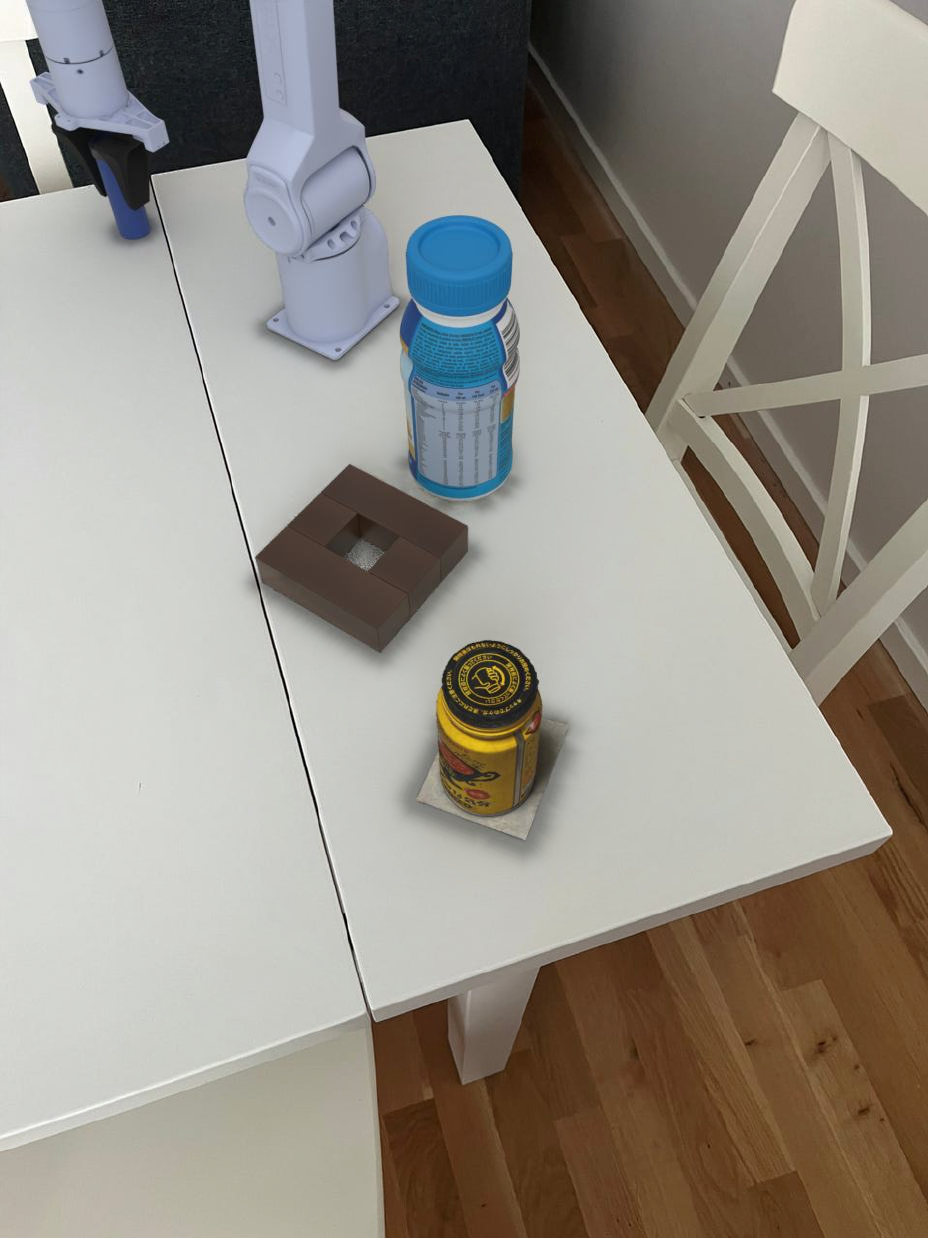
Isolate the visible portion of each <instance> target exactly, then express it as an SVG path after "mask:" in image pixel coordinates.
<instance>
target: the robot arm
mask: <svg viewBox="0 0 928 1238" xmlns="http://www.w3.org/2000/svg"><path fill="white" fill-rule="evenodd" d="M24 1H25V4H26V6H27V10H28V12H29V16H30V18H31V21H32V25H33V27H34V30H35V33H36V36H37V38H38V41H39V45H40V47H41V51H42V53H43V56H44V59H45V62H46V65H47V68H48V70H49V72H48V71H44V72H42V73H41V74H39V75H37V76H35V77H34V78H31V79H30V80H29V84H30V88H31V90H32V93H33V95H34V99H35V101H36V103H38V104H40V105H44V106H46V105H48V104H50V105H51V106H52V108H54V110H55V111H56V112H57V113H56V115H54V121H53V122H52V123H51V124H50V128H51V132H52V134H53V135H55V136H56V137H57V138H58V139H59V140H60V141H61V142H62V143H63V144H64V145H65V146H66V147H67V148H68V149H69V151H70V152H71V153H72V154H73V156H74V157H75V159H76V160H77V161H78V162H79V164H80V165H81V166H82V168H83V169H84V171H85V173H86V174H87V176H88V178H89V179H90V181H91V183H92V185H93V186H94V187H95V189H96V191H97V192H98V194H100V196H102V197H104V198H108V196H107V192H106V189H105V186H104V183H103V180H102V177H101V174H100V171H99V168H98V165H97V162H96V159H95V158H94V157H93V156H92V154H91V151H90V148H89V144H88V143H89V140H90V138H91V137H93V136H94V135H96V134H98V133H100V132H104V131H110V132H111V135H108V136H107V137H105V138H104V139H102V140H100V141H99V142H97V143H95V144H94V148H95V150H96V151H97V152H98V153H99V154H100V155H101V156H102V158H103V159H104V160H105V162H106V163H107V164H108V166H109V167H110V169H111V171H112V172H113V174H114V176H115V178H116V180H117V183H118V185H119V188H120V190H121V193H122V195H123V197H124V200H125V202H126V203H127V205H128V207H129V208H130V209H132V210H134V211H136V210H138V209H139V208H141V207H142V206H144V205H147V204H148V203H150V201H151V197H150V196H151V195H150V194H151V191H150V189H151V188H150V187H151V185H150V177H151V176H150V175H151V174H150V173H151V162H152V156H153V153H155V152H156V151H158V150H161V149H162V148H163V147H165V146H166V145H167V144H169V143H170V139H169V135H168V131H167V127H166V122H165V120H163V119H161V118H158V117H157V116H155V115H154V114H153V113H152V112H151V111H150V110H149V109H148V108H147V107H146V106H144V104H143V103H142V102H140V100H139V99H138V98H137V97H136V96H134V95H133V93H131V91H130V90H129V89H127V85H126V81H125V78H124V74H123V70H122V67H121V63H120V60H119V56H118V52H117V49H116V45H115V42H114V38H113V35H112V32H111V29H110V25H109V20H108V17H107V14H106V10H105V7H104V4H103V0H24ZM249 8H250V15H251V25H252V32H253V40H254V48H255V49H254V50H255V57H256V65H257V71H258V80H259V81H258V82H259V88H260V96H261V105H262V112H263V120H262V122H261V125H260V127H259V129H258V132H257V134H256V136H255V138H254V139H253V142H252V145H251V146H250V148H249V151H248V154H247V156H246V159H245V161H246V169H247V180H246V184H245V187H244V189H243V195H242V201H243V208H244V211H245V215H246V218H247V222H248V223H249V225H250V227H251V230H252V231H253V233H254V234H255V235H256V236H257V238H258V239H259V240H260V241H261V242H262V243H263V244H264V245H265V246H266V247H267V248H269V249H270V250H272V251H273V252H274V253H275V259H276V260H275V261H276V264H277V265H276V266H277V270H278V275H279V276H278V277H279V281H280V288H281V292H282V298H283V303H284V307H283V308H282V309H281V310H280V311H278V312H277V313H276V314H274V315H273V316H272V317H271V318H270V319H269V320H268V321H266V327H267V329H269V330H271V331H272V332H274V333H277V334H278V335H280V336H283V337H285V338H287V339H288V340H291V341H293V342H295V343H297V344H299V345H301V346H303V347H305V348H307V349H310V350H311V351H313V352H316V353H318V354H320V355H322V356H324V357H325V358H328V359H330V360H333V361H337V360H339V359H340V358H342V357H343V356H344V355H345V354H346V353H347V352H349V351H350V350H351V349H353V347H354V346H355V345H356V344H357V343H359V342H360V341H361V340H362V339H363V338H364V337H365V336H366V335H367V334H369V332H371V331H372V330H373V329H374V328H375V327H377V326H378V324H379V323H381V322H382V321H383V320H384V319H385V318H386V317H388V315H390V314H391V313H392V312H393V311H394V310H395V309H396V308H398V307H399V306H400V299H399V298H398V297H396V296H394V295H392V283H391V282H392V281H391V269H390V255H389V243H388V238H387V235H386V231H385V229H384V227H383V225H382V223H381V221H380V220H379V218H378V217H377V216H376V214H375V213H374V212H373V211H372V210H370V209H369V208H368V207H367V206H366V204H367V203H368V202H369V201H370V200H371V199H372V198H373V196H374V195H375V192H376V188H377V187H376V186H377V176H376V171H375V167H374V164H373V161H372V159H371V156H370V154H369V150H368V148H367V143H366V127H365V125H363V123H362V122H360V121H359V120H358V119H357V118H356V117H354V116H353V115H352V114H351V113H349V112H348V111H346V110H344V109H342V108H341V107H340V100H339V83H338V66H337V47H336V46H337V45H336V29H335V13H334V12H335V11H334V0H249Z"/></svg>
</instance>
